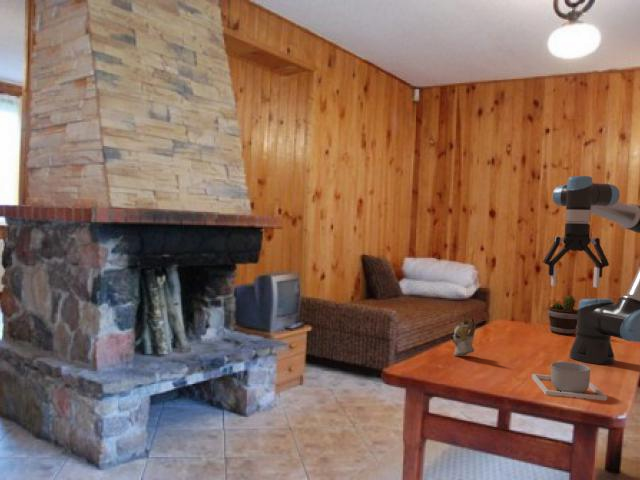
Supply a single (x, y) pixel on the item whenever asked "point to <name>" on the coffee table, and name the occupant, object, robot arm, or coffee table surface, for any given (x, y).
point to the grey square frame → (567, 394)
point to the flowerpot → (563, 317)
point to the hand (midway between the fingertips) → (574, 286)
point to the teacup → (570, 376)
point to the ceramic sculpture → (464, 337)
